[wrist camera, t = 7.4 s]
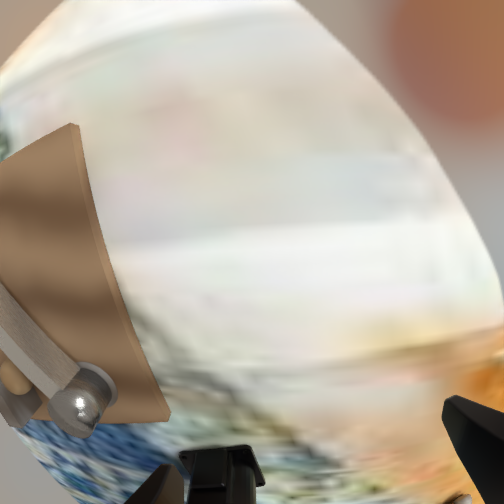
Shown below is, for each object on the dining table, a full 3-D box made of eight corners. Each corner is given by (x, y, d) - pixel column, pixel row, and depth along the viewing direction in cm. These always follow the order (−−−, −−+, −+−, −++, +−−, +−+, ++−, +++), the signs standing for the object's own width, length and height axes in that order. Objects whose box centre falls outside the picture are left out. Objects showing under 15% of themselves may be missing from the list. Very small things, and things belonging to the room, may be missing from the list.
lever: (119, 391, 19) (97, 431, 15) (99, 412, 20) (78, 449, 15) (-27, 233, 17) (-65, 244, 12) (-37, 264, 17) (-72, 278, 13)
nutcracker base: (171, 411, 21) (156, 458, 16) (34, 412, 22) (11, 441, 17) (78, 125, 17) (33, 112, 12) (-45, 201, 17) (-84, 207, 12)
